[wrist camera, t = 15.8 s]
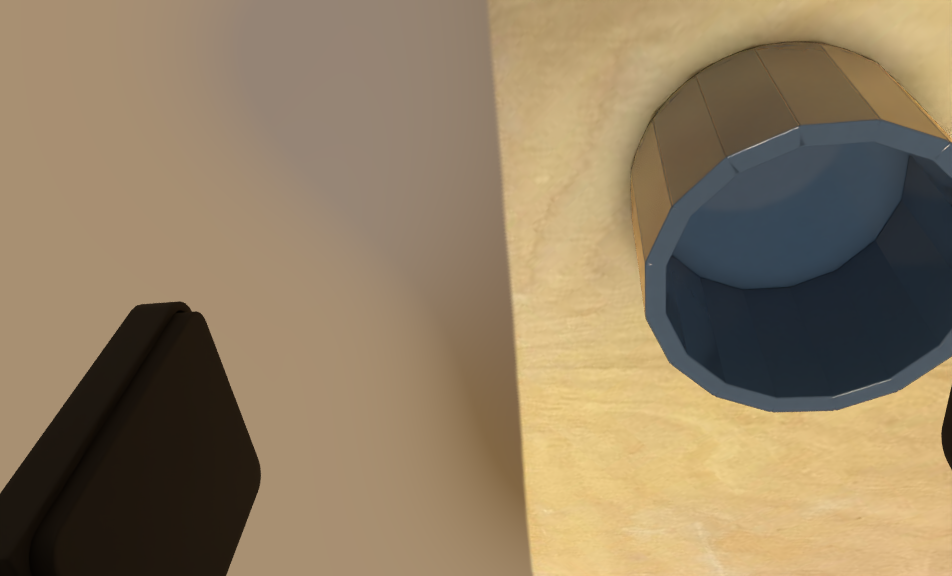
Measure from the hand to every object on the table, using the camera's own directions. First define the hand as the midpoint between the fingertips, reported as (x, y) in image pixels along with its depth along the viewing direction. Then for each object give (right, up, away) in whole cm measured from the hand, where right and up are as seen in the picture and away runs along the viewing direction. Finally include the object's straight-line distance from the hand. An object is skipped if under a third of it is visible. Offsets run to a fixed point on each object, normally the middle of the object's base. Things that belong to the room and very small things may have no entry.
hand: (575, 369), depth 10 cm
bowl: (+12, +6, +27) cm, 30 cm away
